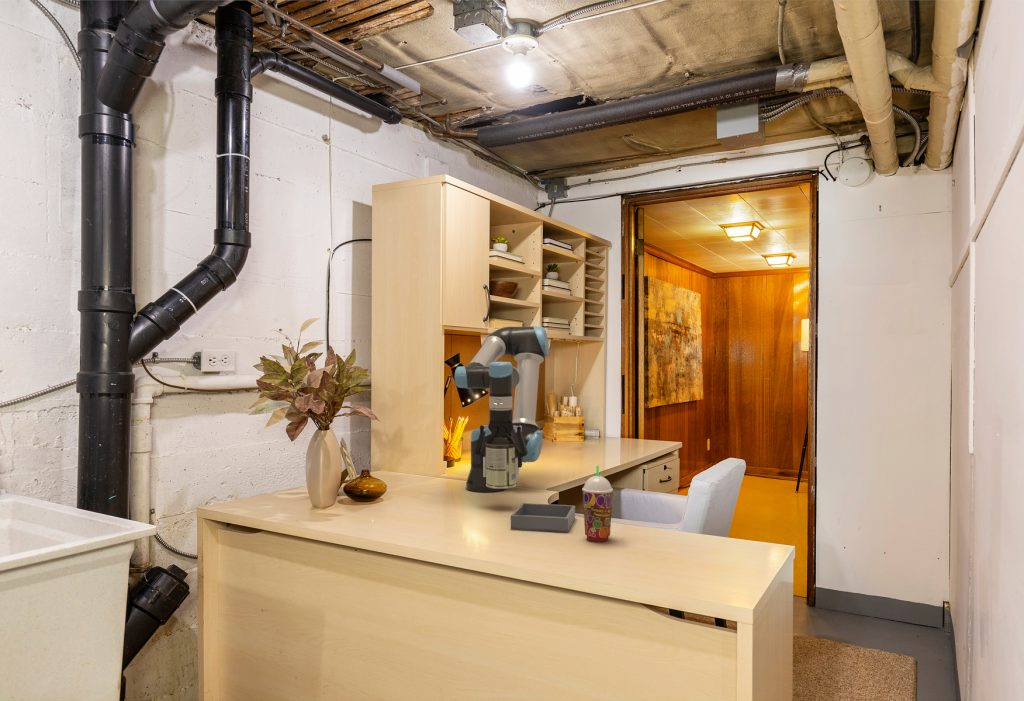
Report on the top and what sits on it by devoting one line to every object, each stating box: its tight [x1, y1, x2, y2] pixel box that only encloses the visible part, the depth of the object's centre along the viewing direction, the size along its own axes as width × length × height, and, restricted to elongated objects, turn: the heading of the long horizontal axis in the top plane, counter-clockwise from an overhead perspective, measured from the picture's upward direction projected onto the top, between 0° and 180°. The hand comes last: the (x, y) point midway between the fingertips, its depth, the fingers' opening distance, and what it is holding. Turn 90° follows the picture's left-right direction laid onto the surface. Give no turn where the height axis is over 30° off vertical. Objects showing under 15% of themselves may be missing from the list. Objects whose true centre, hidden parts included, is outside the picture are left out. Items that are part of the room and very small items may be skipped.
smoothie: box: [581, 465, 614, 543], centre depth 179 cm, size 8×8×20 cm
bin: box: [510, 502, 576, 534], centre depth 195 cm, size 17×17×4 cm
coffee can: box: [485, 440, 518, 490], centre depth 215 cm, size 10×10×14 cm
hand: (501, 476), depth 215 cm, fingers closed on coffee can, 10 cm apart
